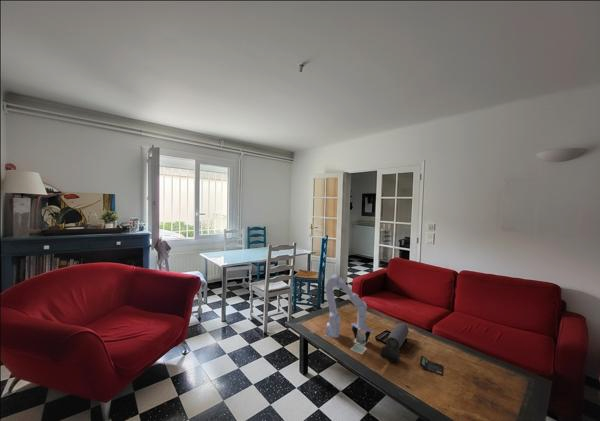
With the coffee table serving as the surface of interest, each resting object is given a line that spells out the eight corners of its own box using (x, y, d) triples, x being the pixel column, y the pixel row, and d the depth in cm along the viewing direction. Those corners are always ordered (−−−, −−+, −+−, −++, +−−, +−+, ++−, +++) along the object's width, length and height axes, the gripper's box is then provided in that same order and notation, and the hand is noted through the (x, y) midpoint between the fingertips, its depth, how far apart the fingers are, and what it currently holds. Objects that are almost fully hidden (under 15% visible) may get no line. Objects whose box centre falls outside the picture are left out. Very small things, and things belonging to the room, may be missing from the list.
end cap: (380, 359, 150) (380, 348, 150) (384, 353, 156) (384, 343, 156) (397, 366, 144) (397, 355, 144) (400, 360, 150) (401, 349, 150)
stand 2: (350, 351, 157) (350, 349, 157) (355, 345, 163) (355, 343, 163) (361, 356, 152) (362, 354, 152) (366, 350, 159) (366, 347, 159)
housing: (356, 342, 165) (356, 334, 165) (359, 337, 170) (360, 330, 170) (362, 344, 162) (362, 337, 162) (366, 340, 167) (366, 333, 167)
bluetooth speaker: (400, 354, 155) (401, 339, 154) (385, 349, 161) (386, 334, 160) (409, 338, 173) (409, 324, 172) (395, 333, 179) (396, 320, 178)
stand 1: (353, 343, 165) (353, 341, 165) (357, 338, 172) (357, 336, 172) (364, 348, 161) (364, 346, 161) (368, 342, 167) (369, 340, 167)
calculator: (442, 376, 137) (442, 371, 137) (419, 368, 143) (419, 363, 143) (442, 366, 145) (442, 361, 145) (420, 359, 151) (421, 354, 151)
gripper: (349, 319, 166) (348, 338, 167) (370, 326, 158) (369, 346, 159) (353, 315, 172) (353, 334, 173) (373, 322, 163) (373, 341, 164)
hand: (361, 339), depth 166 cm, fingers open, 7 cm apart
